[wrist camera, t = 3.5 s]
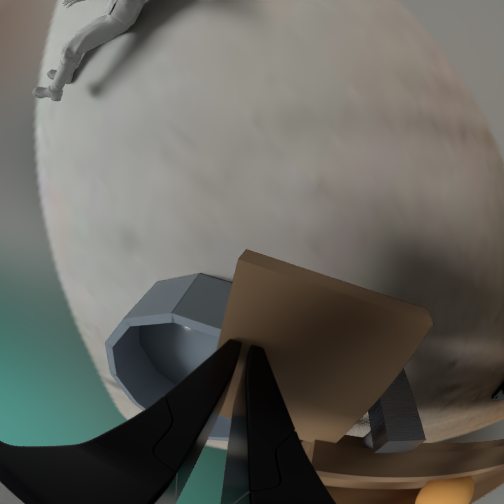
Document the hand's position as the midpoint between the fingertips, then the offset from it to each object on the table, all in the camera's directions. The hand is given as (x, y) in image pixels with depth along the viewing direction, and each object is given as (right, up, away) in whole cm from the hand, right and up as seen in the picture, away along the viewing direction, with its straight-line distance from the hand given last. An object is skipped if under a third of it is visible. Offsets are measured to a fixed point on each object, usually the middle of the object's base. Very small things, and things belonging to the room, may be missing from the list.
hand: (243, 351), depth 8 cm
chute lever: (+9, -6, +1) cm, 11 cm away
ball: (+12, -12, -1) cm, 17 cm away
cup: (-3, -3, +9) cm, 10 cm away
